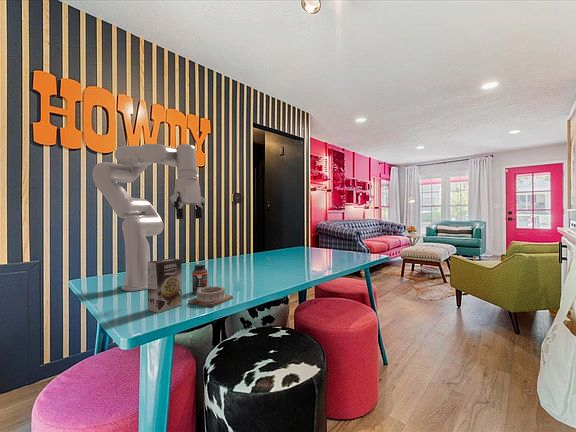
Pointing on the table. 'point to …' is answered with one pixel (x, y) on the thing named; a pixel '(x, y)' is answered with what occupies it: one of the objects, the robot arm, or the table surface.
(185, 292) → the table surface
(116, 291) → the table surface
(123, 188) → the robot arm
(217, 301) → the socket collar
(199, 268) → the supplement bottle
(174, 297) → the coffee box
